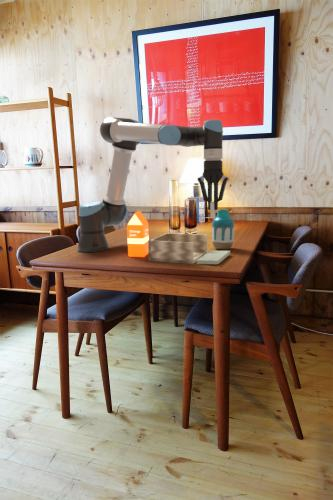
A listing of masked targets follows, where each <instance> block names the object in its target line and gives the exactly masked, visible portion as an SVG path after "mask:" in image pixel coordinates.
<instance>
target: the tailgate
mask: <svg viewBox="0 0 333 500" xmlns="http://www.w3.org/2000/svg"><path fill="white" fill-rule="evenodd" d="M230 255H231V250H210V251H207V254H205V255H204V256H202V257H201V258H199V259H198V260H197V261H196V265H219V264H220V263H222V262H223V261H224V260H225V259H226V258H227V257H229V256H230Z"/></svg>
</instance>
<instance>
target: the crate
mask: <svg viewBox="0 0 333 500" xmlns="http://www.w3.org/2000/svg"><path fill="white" fill-rule="evenodd" d="M148 251H149V254H148V261H149V262H162V263H163V262H165V263H175V264H188V265H194V263H197V260H198V259H199V258H201V257H202V256H204V255H205V254H207V253H208V234H199V233H198V234H195V233H177V232H176V233H173V232H166V233H164V234H161V235H158V236H155V237H154V238H152V239H149V240H148Z"/></svg>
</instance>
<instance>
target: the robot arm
mask: <svg viewBox="0 0 333 500" xmlns="http://www.w3.org/2000/svg"><path fill="white" fill-rule="evenodd" d="M223 130H224V129H223V121H222V120H220V119H206V120H205V121H203V126H184V125H183V126H182V125H176V124H175V125H174V124H157V123H156V124H155V123H144V122H143V123H142V122H141V123H140V122H139V121H138V120H136V119H132V118H125V117H116V116H115V117H114V116H111V117H107V118H105V119H104V120H103V121H102V123H101V124H100V127H99V133H100V136H101V138H102V139H103V140H104V141H105V142H106V143H108V144H109V143H110V144H112V145H111V146H112V147H113V149H114V150H113V154H112V155H113V157H112V162H111V167H110V168H111V169H110V172H109V173H110V174H109V179H108V186H107V190H106V191H107V192H106V195H104V196H103V198H102V201H90V202H84V203H82V204H80V205H79V207H78V217H79V220H78V221H79V231H80V234H79V235H80V236H79V240H78V243H77V251H79V252H83V253H97V252H103V251H107V250H108V249H109V247H110V246H109V242H108V240H107V239H108V238H107V236H106V234H105V227H108V226H109V227H110V226H117V225H119V224H122V223H124V222H125V221H126V220H127V218H128V215H129V209H128V205H127V204H126V201H125V199H124V196H125V191H126V186H127V181H128V175H129V170H130V165H131V160H132V154H133V153H134V152H135V151H136V149H137V145H139V144H141V143H147V144H157V145H158V144H159V145H165V146H171V147H172V146H181V147H186V148H187V147H199V146H203V159H204V161H203V172H202V175H201V176H200V177H197V180H196V181H198V183H199V186H200V190H201V194H202V199H203V201H205V202H207V210H209V212H210V214H209V215H210V217H209V218H210V219H214V218H216V211H217V210H219V207H218V206H219V202H220V201H222V200H223V198H224V194H225V189H226V185H227V183H228V181H229V180H230V179H229V178H230V177H228V176H226V175H224V171H223V161H222V159H223V133H224V131H223ZM205 181H206V183H207V189H206V185H205ZM220 181H222V182H221V187H220V190H219V183H220Z"/></svg>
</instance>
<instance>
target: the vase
mask: <svg viewBox="0 0 333 500" xmlns="http://www.w3.org/2000/svg"><path fill="white" fill-rule="evenodd" d="M216 211H217V212H216V213H217V214H216V216H215V218H212V222H211V223H212V224H211V241H212V245H213V247H214V248H215V249H216V250H219V251H227V250H229V249H231V248H232V247H233V245H234V241H235V222H234V219H233V218H232V217H231V216H230V209H225V208H221V209H219V208H218V209H217V210H216Z"/></svg>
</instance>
